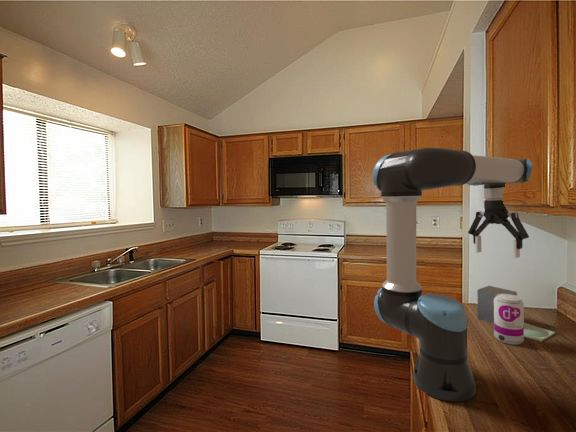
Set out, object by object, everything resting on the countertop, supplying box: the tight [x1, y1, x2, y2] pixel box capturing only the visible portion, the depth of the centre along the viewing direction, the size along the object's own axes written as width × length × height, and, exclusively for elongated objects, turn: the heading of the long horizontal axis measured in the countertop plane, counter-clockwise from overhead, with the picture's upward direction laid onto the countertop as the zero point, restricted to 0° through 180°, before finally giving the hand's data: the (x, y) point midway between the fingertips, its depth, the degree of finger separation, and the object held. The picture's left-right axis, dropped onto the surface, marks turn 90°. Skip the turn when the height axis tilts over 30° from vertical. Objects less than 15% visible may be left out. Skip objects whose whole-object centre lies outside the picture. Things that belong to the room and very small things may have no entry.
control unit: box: [476, 285, 518, 324], centre depth 119 cm, size 8×10×12 cm
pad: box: [524, 322, 556, 342], centre depth 109 cm, size 10×10×1 cm
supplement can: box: [493, 294, 525, 346], centre depth 104 cm, size 8×8×15 cm
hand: (496, 254), depth 118 cm, fingers open, 13 cm apart
